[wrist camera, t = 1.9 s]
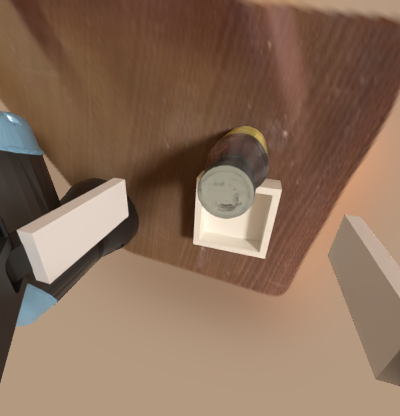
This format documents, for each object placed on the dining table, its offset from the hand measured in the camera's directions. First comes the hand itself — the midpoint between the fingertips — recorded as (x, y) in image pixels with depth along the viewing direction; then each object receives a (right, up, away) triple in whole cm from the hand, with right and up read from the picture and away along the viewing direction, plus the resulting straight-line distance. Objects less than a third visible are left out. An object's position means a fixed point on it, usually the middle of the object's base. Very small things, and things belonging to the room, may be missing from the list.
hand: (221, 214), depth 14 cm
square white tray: (+5, 0, +24) cm, 24 cm away
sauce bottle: (+5, +10, +19) cm, 22 cm away
